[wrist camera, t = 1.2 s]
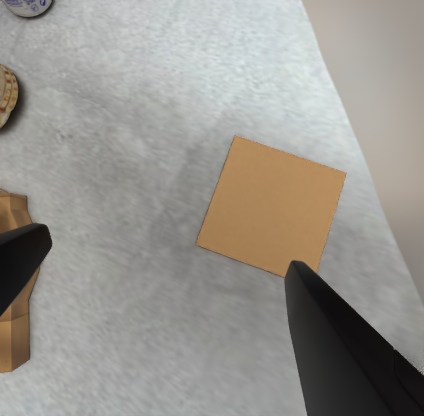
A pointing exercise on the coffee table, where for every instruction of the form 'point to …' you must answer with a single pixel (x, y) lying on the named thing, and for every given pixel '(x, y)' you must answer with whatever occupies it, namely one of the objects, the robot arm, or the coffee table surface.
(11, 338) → the cup stand
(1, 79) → the seashell
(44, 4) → the beverage can
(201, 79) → the coffee table surface
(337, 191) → the coaster
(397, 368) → the robot arm
